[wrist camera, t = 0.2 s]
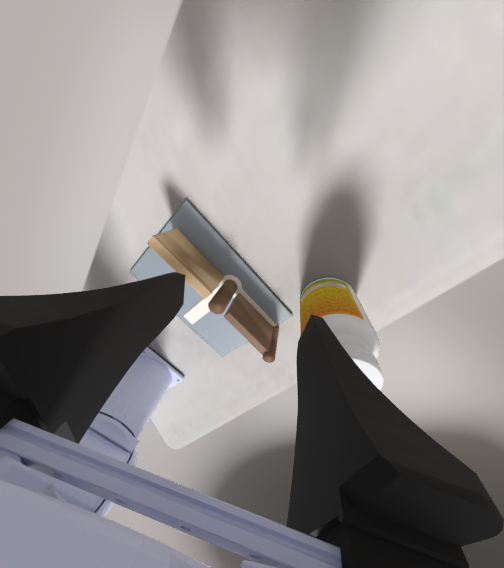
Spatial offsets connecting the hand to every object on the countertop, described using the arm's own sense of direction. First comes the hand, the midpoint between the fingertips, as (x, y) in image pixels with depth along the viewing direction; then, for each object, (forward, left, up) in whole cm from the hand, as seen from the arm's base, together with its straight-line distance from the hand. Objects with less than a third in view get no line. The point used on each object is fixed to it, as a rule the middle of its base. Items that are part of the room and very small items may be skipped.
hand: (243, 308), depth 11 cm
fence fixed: (-5, -4, -10) cm, 12 cm away
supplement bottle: (+2, -8, -10) cm, 13 cm away
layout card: (-8, +1, -10) cm, 13 cm away
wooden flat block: (-5, +4, -9) cm, 12 cm away
